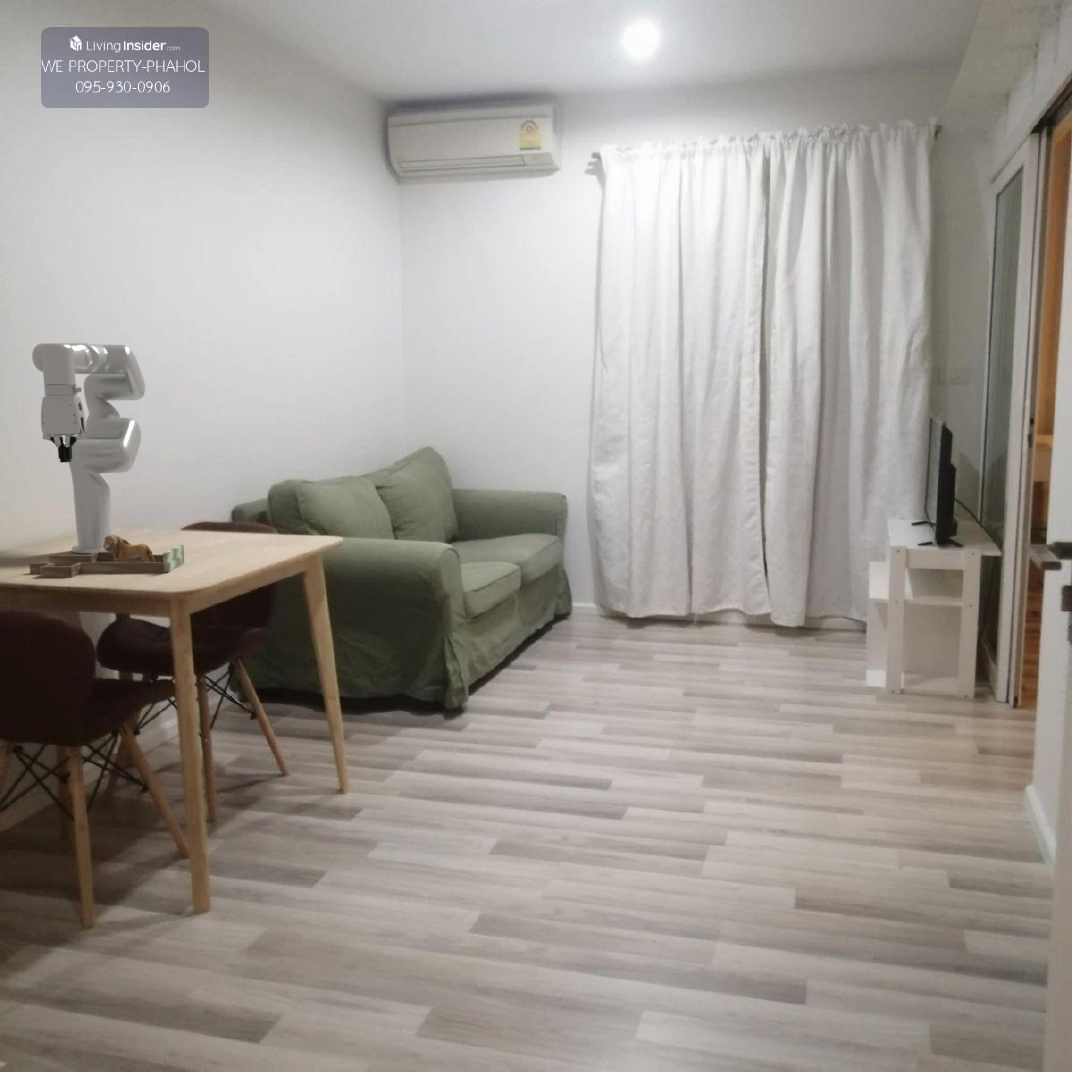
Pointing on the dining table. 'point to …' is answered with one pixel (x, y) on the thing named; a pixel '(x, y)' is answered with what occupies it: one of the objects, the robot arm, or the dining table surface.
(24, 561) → the dining table surface
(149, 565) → the wooden walled channel
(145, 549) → the lion figurine
